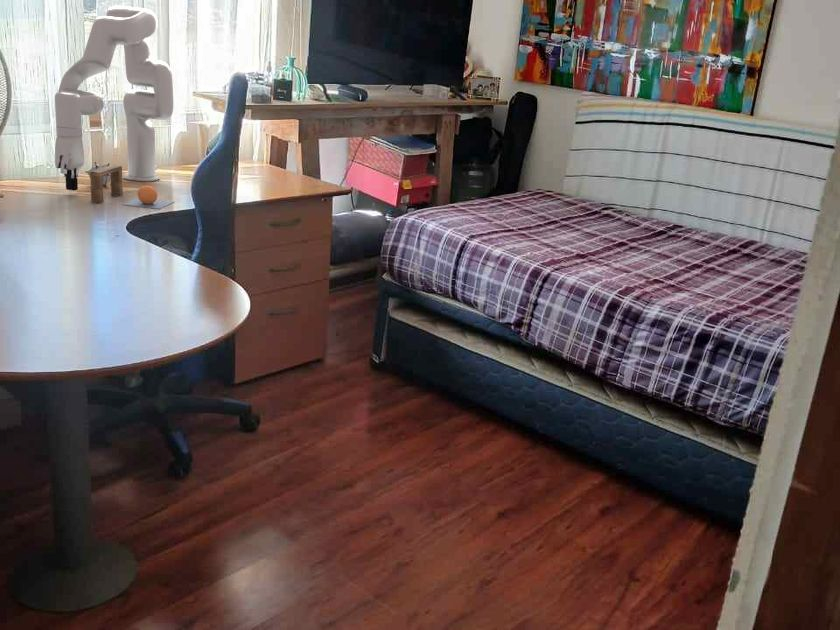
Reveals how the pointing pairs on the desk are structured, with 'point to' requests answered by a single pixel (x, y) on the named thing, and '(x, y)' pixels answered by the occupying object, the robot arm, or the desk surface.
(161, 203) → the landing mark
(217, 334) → the desk surface
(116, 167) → the bridge
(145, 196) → the ball
